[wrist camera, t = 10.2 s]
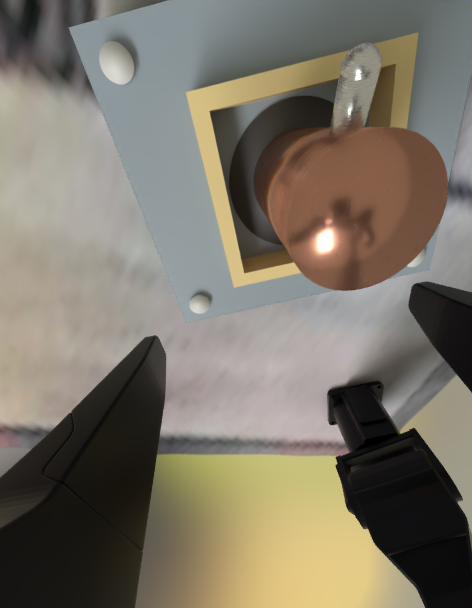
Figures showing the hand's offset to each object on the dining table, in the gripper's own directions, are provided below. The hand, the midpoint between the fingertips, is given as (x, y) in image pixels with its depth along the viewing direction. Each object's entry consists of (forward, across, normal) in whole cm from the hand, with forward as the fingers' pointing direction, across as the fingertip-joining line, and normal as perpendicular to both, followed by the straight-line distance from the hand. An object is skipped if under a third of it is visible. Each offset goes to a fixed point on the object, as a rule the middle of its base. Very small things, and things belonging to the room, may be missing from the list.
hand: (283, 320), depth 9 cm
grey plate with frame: (+13, -3, -4) cm, 14 cm away
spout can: (+9, -3, -3) cm, 10 cm away
